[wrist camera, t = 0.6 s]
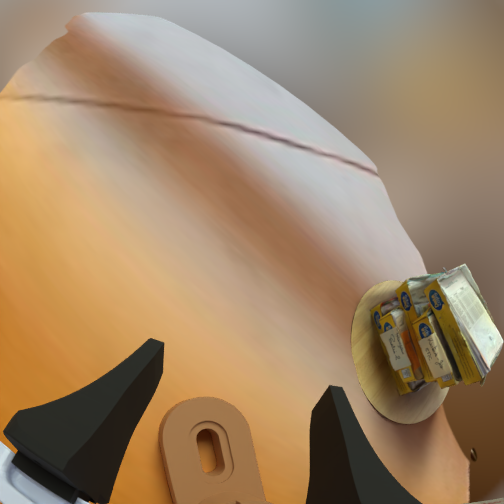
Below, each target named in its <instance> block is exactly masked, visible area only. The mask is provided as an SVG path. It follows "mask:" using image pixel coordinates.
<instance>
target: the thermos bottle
mask: <svg viewBox="0 0 504 504" xmlns="http://www.w3.org/2000/svg"><path fill="white" fill-rule="evenodd" d="M465 504H504V498H500V499H494V500H489V501H481V502H475V503H465Z"/></svg>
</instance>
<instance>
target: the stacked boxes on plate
mask: <svg viewBox="0 0 504 504" xmlns="http://www.w3.org/2000/svg"><path fill="white" fill-rule="evenodd" d="M443 270H446V268H443ZM479 294H480V291H479V288H478V286H477V284H476V283H475V281H474V279H473V278H472V275H471V272H470V271H469V270H468V267H467V266H466V265H465V264H464V265H461V266H459V267H457V268H454V269H453V270H450V271H449V272H447V271H446V272H445V273H444V272H441V273H437V274H426V275H420V276H416V277H412V278H409V279H407V280H405V281H404V282H400V281H385V282H381V283H379V284H377V285H375V286H373V287H372V288H371V289H370V290H368V291H367V293H366V294H365V295H364V296H363V298H362V299H361V301H360V303H359V305H358V307H357V309H356V312H355V315H354V319H353V324H352V333H351V348H352V355H353V359H354V365H355V366H356V371H357V374H358V379H359V382H360V385H361V387H362V389H363V391H364V393H365V395H366V396H367V398H368V400H369V401H370V402H371V404H372V405H373V406H374V407H375V408H376V409H377V410H378V411H379V412H380V413H381V414H382V415H384V416H385V417H387V418H388V419H390V420H392V421H395V422H398V423H402V424H413V423H418V422H420V421H423V420H425V419H426V418H428V417H429V416H431V415H432V414H433V413H434V412H435V411H436V410H437V409H438V408H439V406H440V405H441V404H442V402H443V400H444V398H445V396H446V394H447V392H448V389H449V387H450V386H454V385H457V384H458V383H459V382H460V381H462V380H464V384H465V385H469V384H472V383H476V382H479V381H480V384H481V386H482V385H483V384H484V382H485V378H486V375H487V373H488V372H489V371H490V368H491V367H492V365H493V364H494V362H495V360H496V358H497V357H498V355H499V353H500V351H501V348H502V344H503V339H502V337H501V335H500V333H499V331H498V330H497V328H496V326H495V324H494V323H493V322H494V320H493V321H492V320H491V318H492V316H491V318H490V317H489V315H490V312H489V311H488V308H487V305H486V304H484V303H485V301H484V300H483V298H482V296H481V295H479ZM480 297H481V298H480ZM486 309H487V311H488V313H489V315H488V313H487V311H486Z"/></svg>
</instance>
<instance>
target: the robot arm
mask: <svg viewBox="0 0 504 504" xmlns="http://www.w3.org/2000/svg"><path fill="white" fill-rule="evenodd" d="M163 359H164V342H161V341H158V340H155V339H152V338H150V339H148V340H147V341H146V342H145V343H144V344H143V345H142V346H141V347H140V348H138V349H137V350H136V351H135V352H134V353H133V354H131V355H130V356H129V357H128V358H127V359H125V360H124V361H123V362H121V363H120V364H119V365H118V366H116V367H115V368H114V369H112V370H111V371H109V372H108V373H106V374H105V375H103V376H102V377H100V378H99V379H97V380H96V381H94V382H92V383H91V384H89V385H87V386H85V387H84V388H82V389H80V390H78V391H76V392H74V393H72V394H70V395H67V396H65V397H63V398H60V399H58V400H55V401H52V402H49V403H46V404H43V405H40V406H36V407H32V408H28V409H24V410H20V411H18V412H17V413H16V414H15V415H14V416H13V417H12V419H11V420H10V422H9V423H8V425H7V426H6V428H5V429H4V430H3V433H4V435H5V436H6V438H7V439H8V440H9V441H10V442H11V443H12V444H13V445H14V446H15V448H16V449H17V450H18V451H17V453H16V454H15V453H13V452H12V451H11V450H10V449H9V448H8V447H6V446H5V445H4V444H3V443H2V442H0V502H2V503H3V504H90V503H88V502H89V501H90V502H92V503H94V504H96V503H99V504H107V503H109V500H110V497H111V493H112V490H113V486H114V483H115V480H116V477H117V474H118V471H119V468H120V465H121V462H122V459H123V457H124V454H125V451H126V449H127V446H128V444H129V441H130V439H131V436H132V434H133V432H134V430H135V428H136V426H137V424H138V422H139V421H140V419H141V417H142V415H143V413H144V411H145V410H146V408H147V406H148V404H149V402H150V401H151V399H152V397H153V395H154V393H155V391H156V389H157V386H158V384H159V381H160V379H161V376H162V374H163ZM306 504H422V503H421V502H419V501H418V500H417V499H416V498H415V497H413V496H412V495H411V494H410V493H409V492H408V491H407V490H406V489H405V488H403V487H402V486H401V485H400V483H399V482H398V481H397V480H396V479H395V478H394V477H393V476H392V474H391V473H390V472H389V471H388V470H387V468H386V467H385V466H384V465H383V463H382V462H381V460H380V459H379V457H378V456H377V455H376V453H375V451H374V450H373V448H372V447H371V445H370V443H369V441H368V440H367V438H366V436H365V434H364V432H363V430H362V428H361V426H360V424H359V422H358V420H357V418H356V416H355V414H354V412H353V410H352V408H351V405H350V403H349V401H348V399H347V396H346V394H345V392H344V390H343V388H342V387H338V386H332V385H329V387H328V388H327V390H326V391H325V393H324V394H323V395H322V397H321V398H320V400H319V401H318V403H317V404H316V406H315V407H314V408H313V410H312V415H311V423H310V478H309V486H308V493H307V499H306Z"/></svg>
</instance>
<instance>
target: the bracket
mask: <svg viewBox="0 0 504 504" xmlns="http://www.w3.org/2000/svg"><path fill="white" fill-rule="evenodd" d="M202 429H207V430H208V431H209V432H210V434H211V436H212V441H213V446H214V451H215V456H216V460H217V465H216V468H215V469H214V470H213V471H211V472H207V473H205V472H204V471H203V469H202V465H201V460H200V456H199V451H198V446H197V441H196V437H197V434H198V433H199V431H201V430H202ZM159 444H160V449H161V454H162V459H163V463H164V468H165V472H166V476H167V481H168V485H169V489H170V493H171V496H172V500H173V504H272V503H270V502H267V501H266V499H265V495H264V490H263V486H262V482H261V478H260V473H259V469H258V464H257V460H256V455H255V451H254V446H253V441H252V437H251V432H250V428H249V425H248V423H247V421H246V419H245V418H244V416H243V415H242V413H241V412H240V411H239V410H238V409H237V408H236V407H234V406H233V405H231V404H230V403H228V402H226V401H224V400H222V399H218V398H214V397H198V398H193V399H188V400H185V401H182V402H180V403H178V404H176V405H175V406H173V407H172V408H171V409H170V410H169V411H168V412H167V413H166V414H165V416H164V417H163V419H162V421H161V424H160V427H159Z"/></svg>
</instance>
